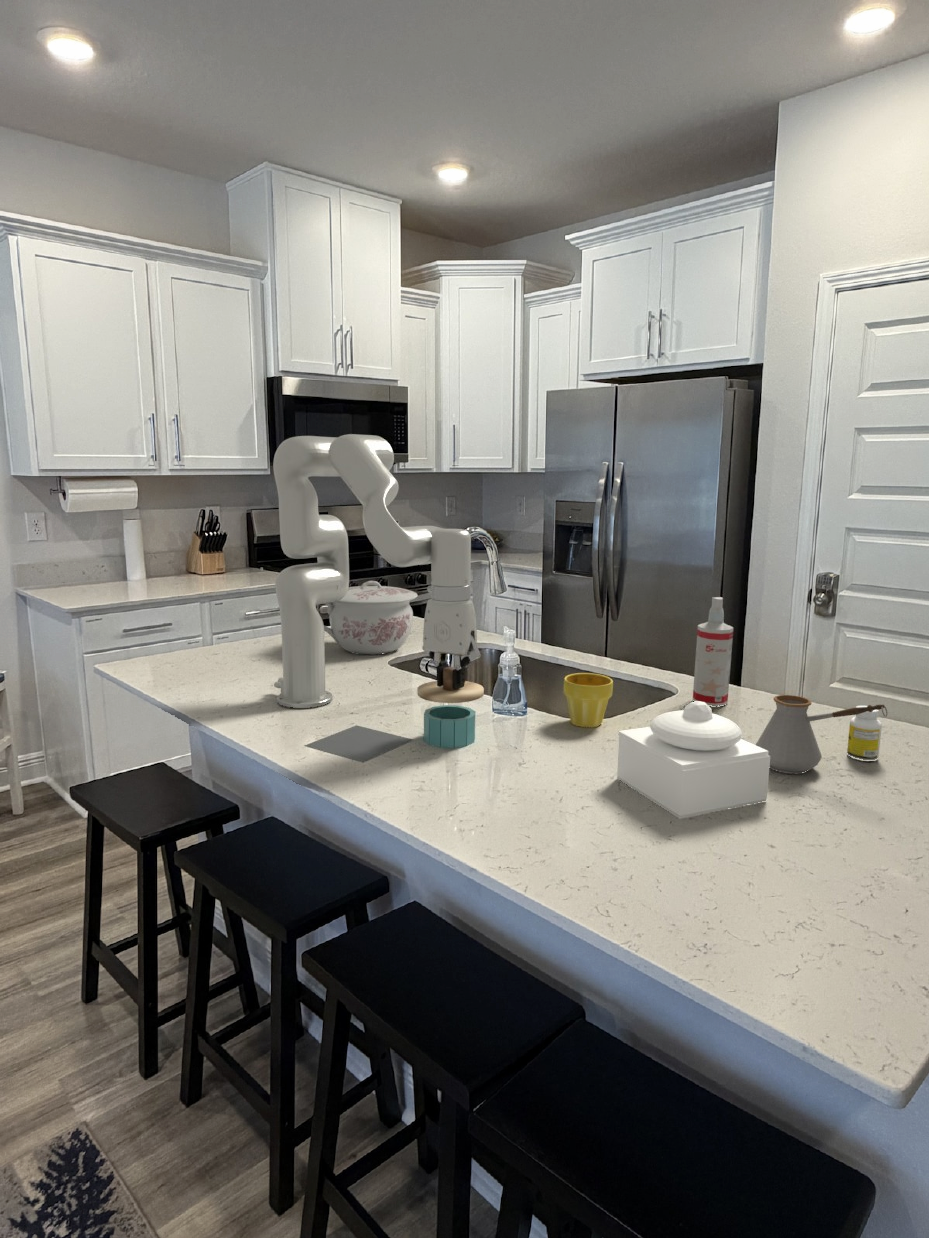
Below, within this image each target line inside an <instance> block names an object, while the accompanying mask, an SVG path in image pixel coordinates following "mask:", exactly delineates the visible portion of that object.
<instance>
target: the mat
mask: <svg viewBox="0 0 929 1238" xmlns="http://www.w3.org/2000/svg"><path fill="white" fill-rule="evenodd" d="M412 741H414V739H413V738H409V737H404V736H402V735H396V734H393V733H389V732H385V731H380V730H377V729H372V728H369V727H365V726H361V725H357V724H356V725H354V726H352V727H349V728H346V729H343V730H341V731H339V732H336V733H333V734H329V735H327V736H325V737H323V738H320V739H318V740H315V741H313V742H310V743H307V744H304V745H303V746H304V747H307V748H310V749H315V750H318V751H320V752H321V751H322V752H325V753H328V754H332V755H336V756H339V757H343V758H346V759H350V760H354V761H357V762H361V763H365V762H367V761H370V760H372V759H374V758H377V757H379V756H381V755H383V754H385V753H388V752H390V751H392V750H394V749H396V748H399V747H402V746H404V745H405V744H407V743H410V742H412Z"/></svg>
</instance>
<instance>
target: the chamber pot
mask: <svg viewBox="0 0 929 1238" xmlns="http://www.w3.org/2000/svg"><path fill="white" fill-rule="evenodd" d="M418 596H419V595H418V593H417V592H416V591H413V590H409V589H407V588H402V587H396V586H389V585H387V586H386V585H381V584H380V583H379V582H378V581H375V580H368V581H364V582H363V583H362V584H361V585H358V586H349V587H348V591H347V593H346V595H345V596H344V597H343V598H342V599H341V600H339V601H335V602H331V603H325V604H324V605H326V607H327V614H328V615H329V617H328V619H329V625H330V627H329V626H327V625H324V632H326V633H327V634H329V636H331V638H332V639H333V640H334V641H335V642H336V643H337V644H339V646H340V647H341V648H342V649H343V650H344V651H347V652H350V653H352V652H354V653H353V654H356V653H359V654H358V655H362V654H378V655H383V654H382V653H386V654H389V653H392V652H395V651H397V650H399V649H400V648H402V646H403V645H404V643H406V641H407V639H408V637H409V635H410V634H411V631H412V626H413V622H414V620H413V619H414V611H413V608H412V607H411V605H410V602H411V601H413V600H414V599H416V598H417V597H418ZM315 606H316V607H317V605H315ZM394 650H395V651H394ZM388 652H389V653H388Z"/></svg>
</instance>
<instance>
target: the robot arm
mask: <svg viewBox="0 0 929 1238" xmlns="http://www.w3.org/2000/svg"><path fill="white" fill-rule="evenodd" d="M394 461H395V454H394V451H393V448H392V446H391V444H390V443H389V442H388V440H386V439H384V438H383V437H381V436H379V435H372V434H356V433H354V434H353V433H348V434H343V435H340V436H338V437H337V436H336V437H334V436H333V437H332V436H316V435H300V436H299V435H298V436H292V437H288V438H286V439H285V440H283V441H282V442H281V443H280V444H279V446H278V447H277V449H276V451H275V453H274V457H273V462H272V463H273V465H272V466H273V467H272V468H273V469H272V470H273V475H274V481H275V485H276V489H277V494H278V495H277V497H278V516H279V538H280V546H281V549H282V551H283V554H284V555H286V557H288V558H290V559H294V560H295V559H296V560H297V559H298V560H299V559H311V558H317V559H316V560H317V562H314V563H312V562H311V563H304V564H294V565H291V566H288V567H286V568H284V569H283V570H281V571H280V572H278V575H277V577H276V579H275V583H274V585H275V586H274V587H275V589H274V590H275V594H276V598H277V599H276V600H277V602H278V606H279V607H278V608H279V614H280V624H281V625H280V626H281V627H280V629H281V648H282V649H281V651H282V652H281V653H282V677H279V678H278V679H277V681H275V682H274V683H273V684H274V685H273V687H274V688H277V689H280V693H279V694H278V695H277V696H276V702H278V703H279V704H278V703H277V704H278V705H280V706H282V705H283V706H282V707H285V706H287V707H286V708H290V707H293V708H292V709H311V708H310V707H312V708H318V707H321V706H320V705H322V706H325V704H326V705H328V704H330V703H331V702H332V701H333V693H332V692H330V691H328V690H326V661H325V660H326V656H325V654H326V653H325V652H326V651H325V649H326V648H325V646H326V645H325V631H324V626H325V625H324V621H323V619H322V617H321V614H320V613H319V611H318V609H317V606H319V605H326V604H325V603H332V602H335V601H339V600H341V599H342V598H343V597H344V596H345V595H346V593H347V591H348V587H350V586H349V585H350V558H349V554H350V553H349V537H348V532H347V530H346V527H345V525H344V523H343V521H342V520H340V519H339V518H338V517H337V516H335V515H332V514H320V512H319V499H318V495H317V491H316V489H315V487H314V486H313V483H312V482H311V481H310V479H309V478H310V477H340V478H341V479H342V481H343V482H344V483H345V484H346V486H347V487H348V489H349V490H351V492H352V493H353V494H354V496H355V497H356V499H357V500H358V501H359V502H360V504H361V505H362V522H363V524H362V525H363V529H364V532H365V534H366V537H367V538H368V540H369V543H371V545H372V546H373V547H374V548H375V550H376V551H377V553H379V555H380V556H381V557H382V558H383V559H384V560H385V561H386V562H387V563H389V564H390V565H392V566H395V567H398V568H407V567H413V566H414V567H415V566H418V565H419V566H423V565H429V564H431V565H430V566H431V569H430V570H431V571H430V572H431V576H430V577H431V579H430V580H431V581H430V584H431V585H428V586H427V588H426V590H427V592H428V593H430V594H431V595H430V596H431V597H430V599H428V600H427V602H426V607H425V612H424V621H423V629H422V630H423V634H422V635H423V636H422V637H423V638H422V646H421V649H422V651H423V652H425V653H426V654H427V655H429V657H430V658H431V660H432V661H433V665H434V666H435V667H436V681H437V686H439V687H441V686H443V668H445V667H450V664H449V663H447V662H448V655H452V656H453V657H454V658H453V660H454V667H455V669H453V689H455V690H457V689H459V688H462V687H464V683H465V681H466V668H467V667H468V666H469V665H470V664H471V663H472V662H473V661H475V660H477V659H480V658H481V656H482V655H481V652H480V650H479V647H478V631H477V630H478V628H477V617H476V610H475V605H474V601H472V600H471V599H472V598H471V589H472V588H471V586H472V585H471V574H472V573H471V571H472V570H471V569H472V566H471V563H472V562H471V561H472V540H471V538H472V537H471V534H470V532H469V531H468V530H466V529H462V528H443V527H438V526H435V525H415V526H400V525H399V523H398V522H397V521H396V520H395V518H394V517H393V516H392V515H391V513H390V511H389V510H388V508H387V507H389V505H390V504H391V503H392V502H393V501H394V500H395V499H396V497H397V495H398V493H399V488H400V486H399V482H398V480H397V479H396V477H395V476H394V475H393V474H392V473H391V472H390V471H391V469H392V468H393V465H394ZM315 605H316V606H315ZM468 652H469V654H468ZM329 702H330V703H329ZM327 703H328V704H327ZM317 706H318V707H317Z"/></svg>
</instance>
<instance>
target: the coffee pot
mask: <svg viewBox="0 0 929 1238" xmlns="http://www.w3.org/2000/svg"><path fill="white" fill-rule="evenodd" d="M773 701H774V702H775V706H776V709H775V711H774V713H773V714H772V716H771V717H770V720H768V722H767V724H766V726H765V728H764V730H763V731H762V733H761V735H760V737H758V740H757V742H756V743H755V745H756V746H758V747H761V748H763V749H765V750H767V751H769V752H768V755H769V756H770V768H771V769H773V770H772V771H774V770H777V771H780V772H779V773H781V772H784V773H783V774H787V773H802V772H805V771H807V770H809V771H810V770H812V769H813V768H815V767H816V766H818V764H819V763H820V762H821V760H822V754H821V750H820V747H819V744H818V742H817V741H818V740H817V739H816V736H815V733H814V730H813V727H812V724H811V722H814V721H820V720H825V719H830V718H840V717H849V716H856V715H858V714H860V713H864V712H867V711H869V712H872V711H873V710H879V711H881V713H882V715H883V716H884V717H888V709H887V707H886V706H885V705H884V704H876V705H871V704H869V705H866V706H867V707H856V706H855V707H851V708H847V709H842V710H841V709H840V710H837V711H833V712H829V713H822V714H816V715H810V716H809V715H808V713H807V712H808V709H809V707H810V706H811V705H812V700H810V699H809V698H806V697H802V696H799V695H791V694H779V695H774V697H773ZM884 709H885V712H884ZM771 769H770V770H771ZM777 771H776V772H777Z"/></svg>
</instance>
